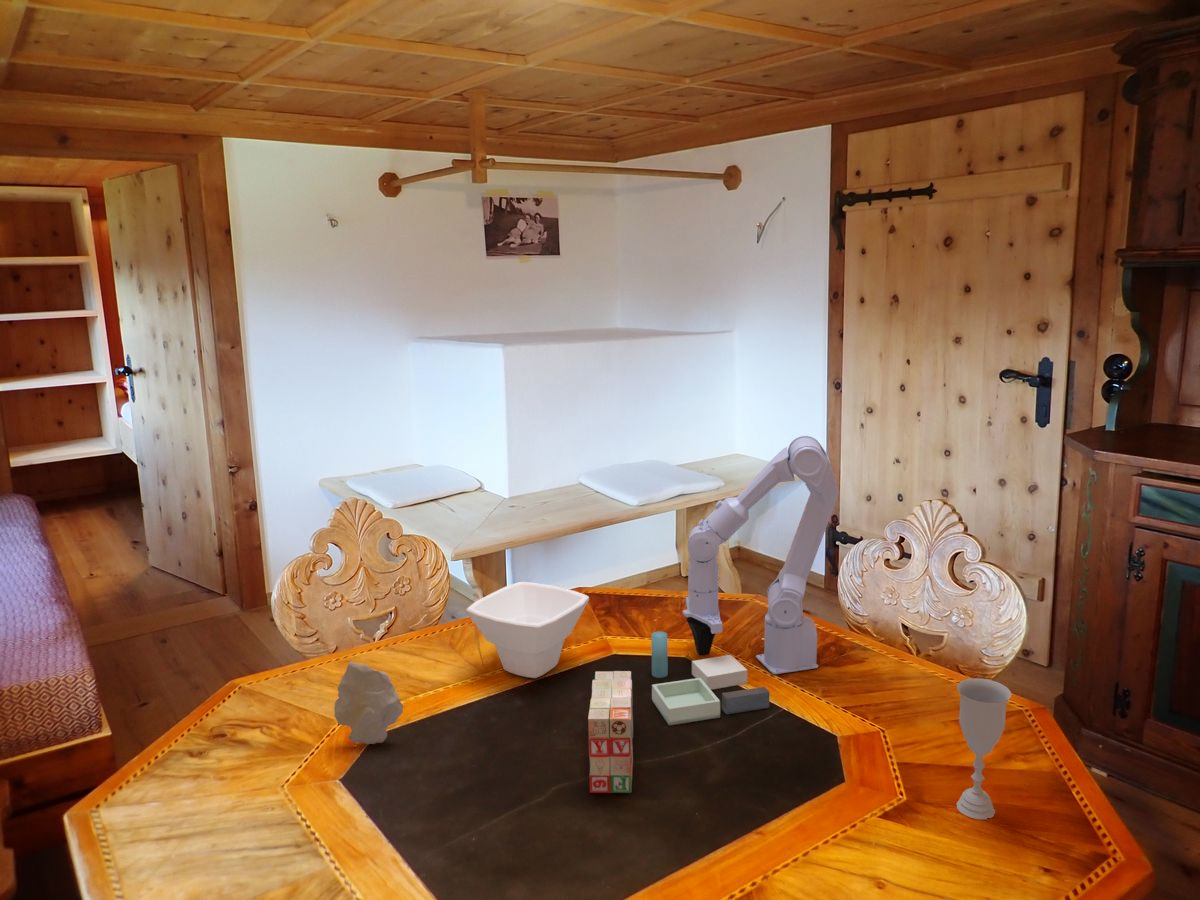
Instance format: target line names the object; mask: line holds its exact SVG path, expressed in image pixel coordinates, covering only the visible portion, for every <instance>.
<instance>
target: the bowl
mask: <svg viewBox="0 0 1200 900" xmlns="http://www.w3.org/2000/svg"><path fill="white" fill-rule="evenodd" d="M589 601H590V597H589V596H588V595H587V594H584V593H581V592H579V591H576V590H572V589H569V588H568V589H567V588H564V587H561V586H556V585H550V584H545V583H538V582H530V581H529V582H527V581H519V582H516V583H511V584H509V585H506V586H504V587H501V588H500V589H497V590H496V591H493V592H491V593H490V594H487V595H486V596H484V597H482V598H480V599H477V600H475V601H474V602H473V603H471V605H469V606H468V607H467V608H466V610H465V611H466V614H467V615H468V617H470V619H471V621H472V622H473V623H474V624H475V626H476V627H477V629H478V630H479V632H480V633H481V634H482V635H483V637H484V638H485V640H486V641H487V642H489V643H490V644H492V645H494V647H495V650H496V653H497V655H498V658H499V659H500V662H501V665H502V667H503V669H504V671H507V672H508V673H511V674H514V675H516V676H519V677H524V678H531V679H537V678H539V677H541V676H544V675H545V674H546V673H548V672H550V671H551V670H552V669H554V668H555V667H556V666H557V665H558V663H559V662H560V657H561V653H562V650H563V647H564V642H565V639H566V638H568V637H569V635H571V633H572V632H573V631H574V628H575V626H576V625H577V622H578V621H579V619H580V617H581V616H582V614H583V611H584V610H585V608H586V606H587V604H588V602H589Z"/></svg>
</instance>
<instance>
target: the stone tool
mask: <svg viewBox="0 0 1200 900" xmlns="http://www.w3.org/2000/svg"><path fill="white" fill-rule="evenodd" d="M336 689H337V693H338V694H337V697H338V698H337V699H336V700H335V702H334V706H333V707H334V708H333V709H334V716H333V717H335V720H336V722H337V724H339V725H340V726H348V727H349V728H350V729H351V732H350V733H349V735H348V739H349V741H351V743H358V744H365V745H368V746H369V744H373V745H375V744H377V743H378V744H382V743H384V742H385V741H386V739H387V737H388V732H387V729H388V728H389V726H391V725H394V724H395V723H396V722H398V719H399V718H400V717H401V715H402V714H403V712H404V711H403V710H404V704H403V703H402V702H401V699H400V697H399V694H398V692H397V691H396V688H395V686H394V684H393V683H392V680H391V678H390V676H389V675H388V674H387V672H385V671H380V670H375V669H373V668H372V667H369V666H368V665H367V664H365V663H364V664H358V663H355V662H353V661H349V663H348V664H347V666H346V670H345V672H344V673H343V675H342V677H341V679H340V682H339V684H338V686H337V688H336Z"/></svg>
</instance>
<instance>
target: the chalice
mask: <svg viewBox="0 0 1200 900" xmlns="http://www.w3.org/2000/svg"><path fill="white" fill-rule="evenodd" d="M956 688H957V690H958V692H959V695H960V700H959V701H960V703H959V717H958V718H959V719H958V722H959V725H960V729H961V732H962V734H963V737H964V740H965V741H966V744H967V746H968V748H969V750H970V751H971V752H972V753H974V754H975V759H974V762H972V766H973V767H974V773H973V774H971V775H970V777H971V779H972V780H973V787H970V788H967V789H965V790H964V791H963V792H962V794H961V795H960V797H959V799H958V801H957V802H956V805H957V806H956V808H957V811H959V812H960V813H961V814H963V815H964V816H966V817H969V818H972V819H975V820H988V819H987V818H990V819H992V818H993V817H994V816H995V815H996V810H995V808H994V805H993V802H992V798H991V797H990V795H989V794H988V793H987V792H986V791H984V789H982V787H981V785H982V782H983V781H984V780H985V778H986V777H984V775H983V773H982V772H983V769H984V768H985V767H986V765H985V764H984V760H983V759H984V756H986V755H989V754H991V752H992V750H993V749H994V748H995V746H996V745H997V744H998V741H999V740H1000V739H1001V736H1002V735H1003V732H1004V731H1005V728H1006V715H1007V714H1006V713H1007V703H1008V701H1009V700H1010V698H1011V697H1012V692H1011V690H1010V689H1009V688H1008V687H1007V686H1006V685H1004V684H1002V683H1000V682H997V681H994V680H991V679H986V678H978V677H977V678H974V677H973V678H967V679H964V680H961V681H960V682H958V683H957V687H956ZM994 814H995V815H994Z"/></svg>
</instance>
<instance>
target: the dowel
mask: <svg viewBox="0 0 1200 900" xmlns="http://www.w3.org/2000/svg"><path fill="white" fill-rule="evenodd" d="M650 640H651V676H652V677H654V678H656V679H663V678H665V677H668V674H669V673H668V671H669V670H668V663H669V661H668V650H669V649H668V633H667V632H665V631H661V630H660V631H658V630H657V631H654V632H652V633H651V639H650Z"/></svg>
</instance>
